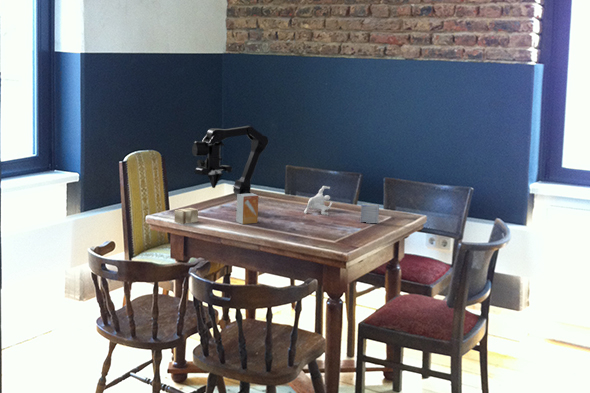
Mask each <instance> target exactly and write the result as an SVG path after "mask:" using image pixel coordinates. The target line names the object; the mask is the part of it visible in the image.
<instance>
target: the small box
mask: <svg viewBox="0 0 590 393" xmlns="http://www.w3.org/2000/svg"><path fill="white" fill-rule="evenodd" d="M236 210H237V211H236V215H235V216H236V220H235V221H236V223H239V224H241V225H246V224H256V223H258V222H259V221H258V220H259V219H258V218H259V195H258V194H256V193H253V192H251V193H248V194H237V197H236Z"/></svg>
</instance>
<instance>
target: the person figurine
mask: <svg viewBox="0 0 590 393" xmlns="http://www.w3.org/2000/svg"><path fill="white" fill-rule="evenodd" d="M326 189H328V190H330V189H331V186H326V185H322V187H321V188H320V189H319V190H318V193H316V195H314V196H312V197H310V198H309V199H308V202H307V206H306V208H305V209H304V210H303V214H305V215H306V214H307V212H308V211H309V208H311V209H314V210H320V214H321V215H322V216H328V215H329V212H326V211H328V210H330V208H331V207H332V204H333V203H334V202H333V201H330V202H329V205H328V206H327V205H326V204H325V201H328V200H331V196H330V195H328V194H327V195H326V194H325V195H323V194H324V193H323V192H324V191H325V190H326Z"/></svg>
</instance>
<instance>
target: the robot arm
mask: <svg viewBox="0 0 590 393" xmlns="http://www.w3.org/2000/svg"><path fill="white" fill-rule="evenodd" d="M241 136H247V138H248V139H249V140H251V142H250V153H249V155H248V159H247V161H246V164H245V166H244V169H243V172H242V173H241V177H240V178H239V179H235V181H234V184H233V186H232V189H233V190H232V191H233V193H234V195H235V197H236V198H237V194H248V193H252V192H251V188H252V185H251V180H252V177H253V176H254V173H255V169H256V168H257V167H256V166H257V165H258V162H259V158H260V156H261V154H262V153H263V152H264V151H265V149H266V148H267V146H268V144H269V138H268V136H266V135H264V134H262V133H261V132H260V131H258V130H256V129H255V128H254V127H253V125H252V126H251V125H245V126H239V127H231V128H225V129H223V128H209V129H208V130H207V131H206V135H205V136H204V137H203V139H202V141H196V140H195V141H194V142H193V145H192V147H191V152H192V156H194V157H205V160H203V159H197V160H196V165H197V167H196V168H195V169H194V174H196V175H201V176H207V177H208V179H209V183H210V185H211V188H212V189H215V188H216V186H217V184H218V183H219V180H220V179H221V177H222V175H224V173H222V172H226V173H233V167H232V166H231V165H226V164H221V161H222V160H223V159H222V157H221V147H225V145H226V144H224V143H223V142H222V141H224V140H225V139H228V138H233V137H241ZM206 156H207V157H206ZM235 211H236V212H237V209H235Z"/></svg>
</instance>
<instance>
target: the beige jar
mask: <svg viewBox="0 0 590 393" xmlns="http://www.w3.org/2000/svg"><path fill="white" fill-rule="evenodd" d="M197 222H199V209H198V208H193V207H186V208H179V209H175V210H174V223H177V224H181V225H185V223H186V224H191V223H197Z"/></svg>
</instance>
